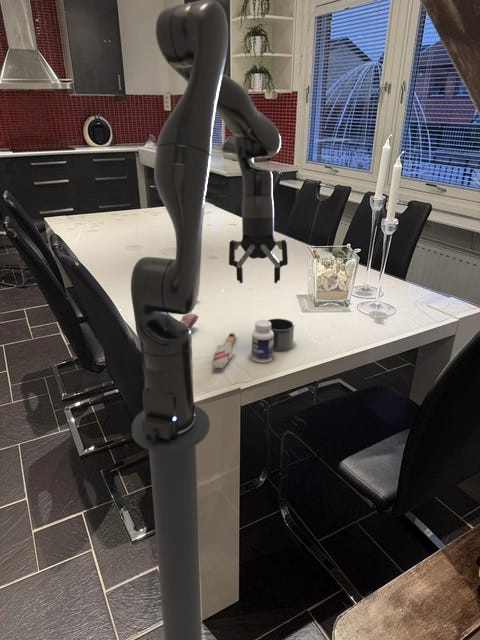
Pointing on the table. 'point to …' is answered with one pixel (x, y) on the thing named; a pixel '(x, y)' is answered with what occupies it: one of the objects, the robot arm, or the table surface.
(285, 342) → the holder
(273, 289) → the table surface
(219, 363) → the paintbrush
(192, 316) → the video game controller
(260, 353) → the pill bottle
